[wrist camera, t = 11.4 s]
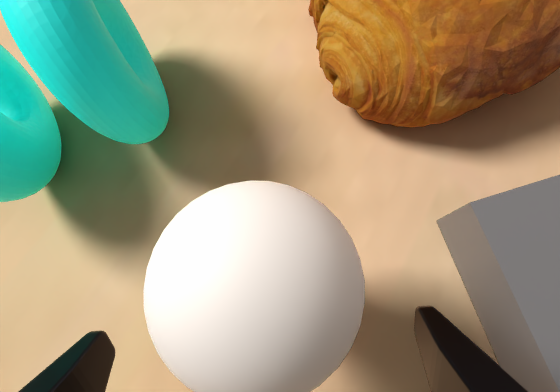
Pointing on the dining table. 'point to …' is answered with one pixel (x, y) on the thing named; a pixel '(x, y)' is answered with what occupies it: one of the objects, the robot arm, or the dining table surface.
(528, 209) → the socket block
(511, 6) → the croissant
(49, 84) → the cyan rounded piece
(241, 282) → the lightbulb
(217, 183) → the dining table surface
